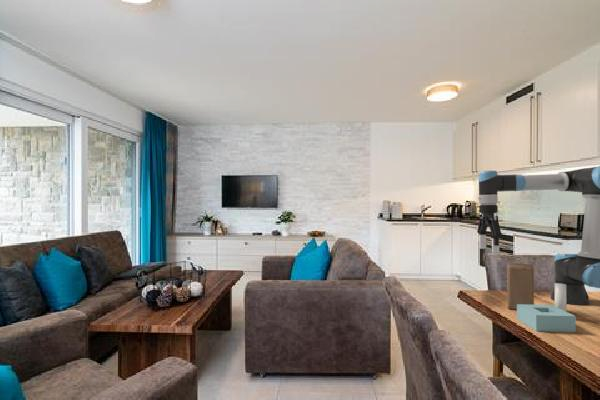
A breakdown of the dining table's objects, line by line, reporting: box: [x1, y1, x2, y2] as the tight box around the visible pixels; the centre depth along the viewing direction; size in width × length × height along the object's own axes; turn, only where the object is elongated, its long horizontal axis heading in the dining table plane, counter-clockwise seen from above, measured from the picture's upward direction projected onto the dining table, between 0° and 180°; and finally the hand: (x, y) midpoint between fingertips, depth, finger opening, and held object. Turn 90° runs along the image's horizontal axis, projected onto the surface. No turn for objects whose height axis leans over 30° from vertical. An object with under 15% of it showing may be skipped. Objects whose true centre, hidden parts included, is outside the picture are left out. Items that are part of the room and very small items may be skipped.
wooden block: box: [506, 262, 535, 311], centre depth 161 cm, size 10×10×20 cm
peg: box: [554, 282, 567, 312], centre depth 148 cm, size 4×4×14 cm
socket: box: [516, 304, 577, 333], centre depth 140 cm, size 14×14×6 cm
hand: (489, 250), depth 161 cm, fingers open, 13 cm apart
